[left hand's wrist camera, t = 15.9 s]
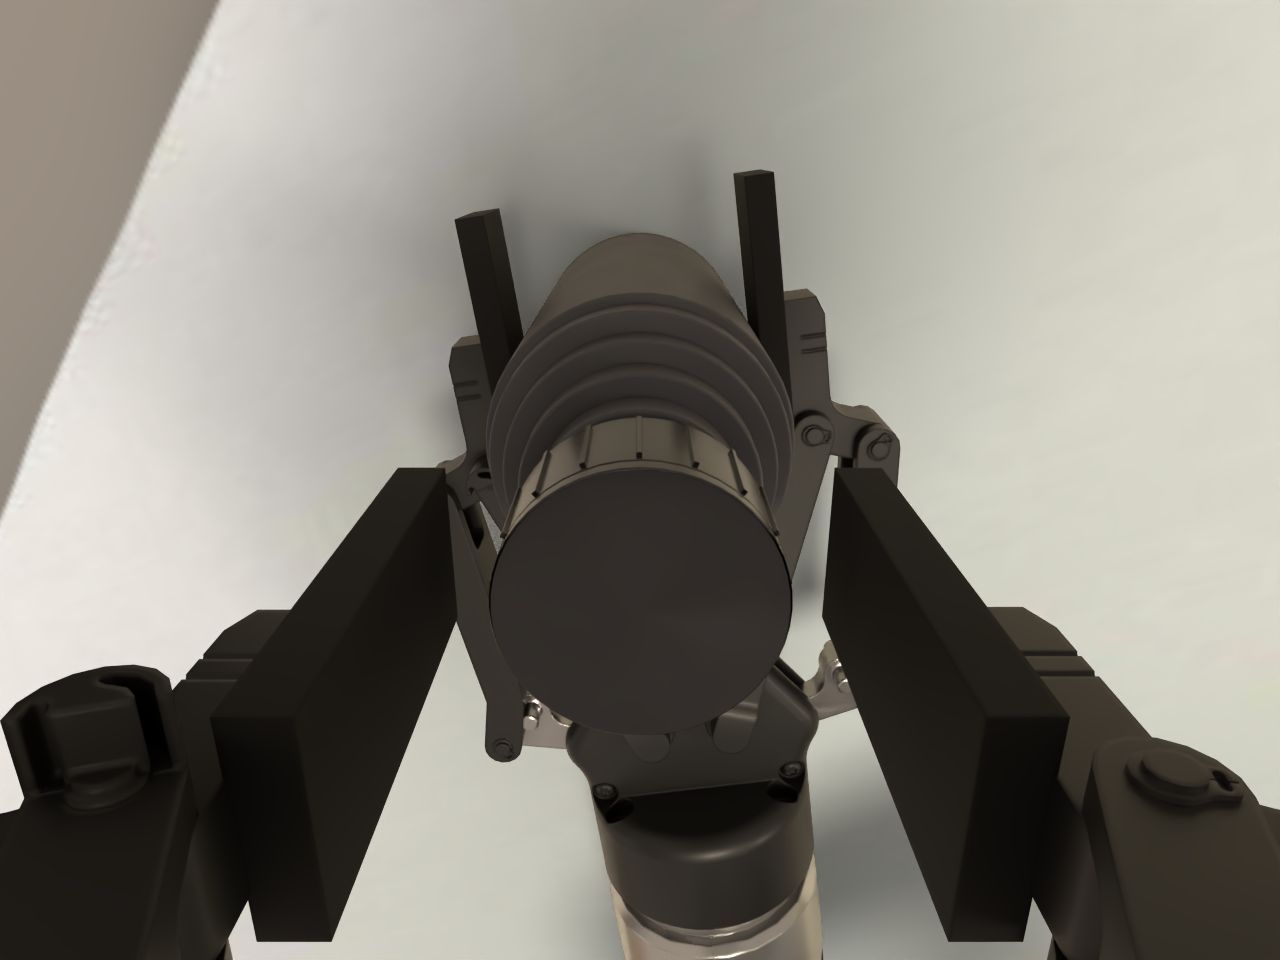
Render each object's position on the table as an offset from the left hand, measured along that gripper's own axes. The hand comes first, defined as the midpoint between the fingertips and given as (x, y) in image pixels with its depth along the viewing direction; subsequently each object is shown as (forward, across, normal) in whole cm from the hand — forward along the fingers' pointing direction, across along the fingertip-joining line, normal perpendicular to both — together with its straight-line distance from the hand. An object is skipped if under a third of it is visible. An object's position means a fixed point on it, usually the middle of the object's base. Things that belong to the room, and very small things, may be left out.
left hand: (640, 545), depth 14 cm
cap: (-2, 0, 0) cm, 2 cm away
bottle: (+18, 0, 0) cm, 18 cm away
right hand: (+12, +1, -5) cm, 13 cm away
